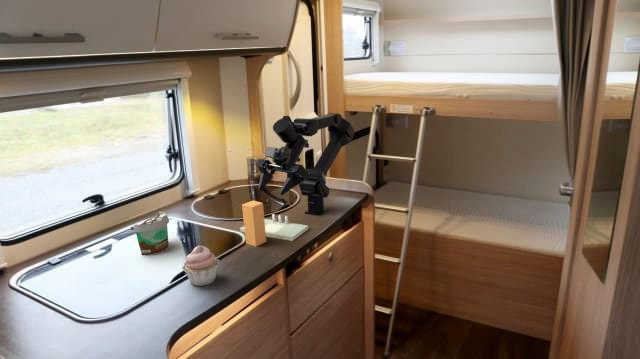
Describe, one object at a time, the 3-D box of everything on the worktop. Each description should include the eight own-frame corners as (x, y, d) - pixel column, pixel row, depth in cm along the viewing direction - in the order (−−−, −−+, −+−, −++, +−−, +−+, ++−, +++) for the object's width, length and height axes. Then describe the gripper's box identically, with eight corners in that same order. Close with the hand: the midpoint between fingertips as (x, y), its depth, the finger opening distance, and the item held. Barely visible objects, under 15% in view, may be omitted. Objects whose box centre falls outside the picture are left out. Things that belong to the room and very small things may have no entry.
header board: (257, 220, 156) (256, 210, 155) (308, 229, 147) (307, 218, 146) (240, 231, 148) (238, 221, 147) (292, 240, 139) (291, 229, 138)
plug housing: (256, 238, 142) (252, 200, 139) (266, 241, 140) (262, 202, 136) (246, 243, 139) (241, 204, 135) (256, 246, 136) (252, 207, 133)
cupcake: (199, 293, 111) (194, 256, 109) (177, 283, 117) (171, 247, 114) (229, 278, 118) (224, 243, 115) (207, 268, 124) (202, 235, 121)
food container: (155, 259, 132) (150, 227, 129) (138, 257, 134) (132, 225, 131) (181, 241, 143) (176, 212, 140) (164, 240, 145) (159, 210, 142)
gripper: (257, 134, 146) (234, 174, 141) (301, 138, 135) (278, 183, 129) (276, 153, 154) (254, 192, 149) (319, 159, 143) (297, 202, 137)
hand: (270, 192), depth 141 cm, fingers open, 9 cm apart
